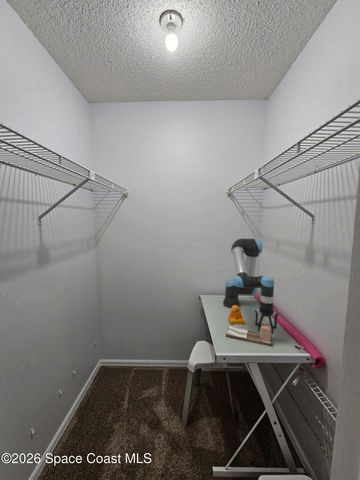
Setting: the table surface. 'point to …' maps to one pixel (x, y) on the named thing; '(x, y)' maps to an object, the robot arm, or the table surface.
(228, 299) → the robot arm
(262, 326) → the stub
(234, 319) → the bracket
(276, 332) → the table surface
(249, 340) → the board
